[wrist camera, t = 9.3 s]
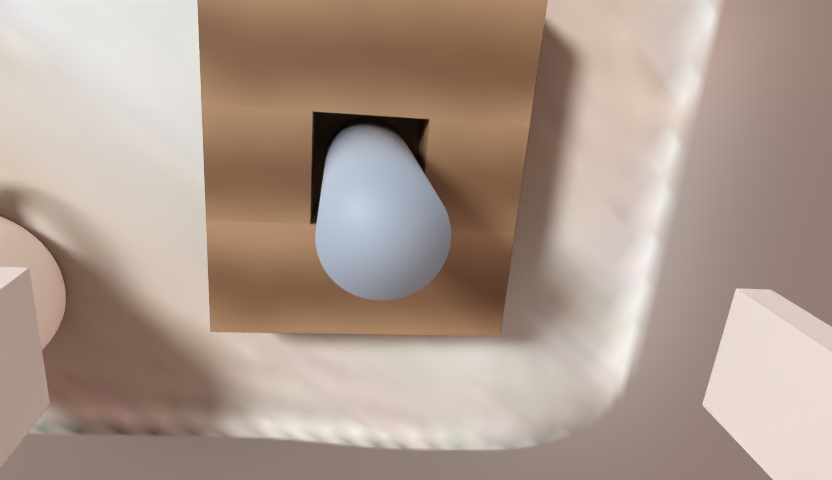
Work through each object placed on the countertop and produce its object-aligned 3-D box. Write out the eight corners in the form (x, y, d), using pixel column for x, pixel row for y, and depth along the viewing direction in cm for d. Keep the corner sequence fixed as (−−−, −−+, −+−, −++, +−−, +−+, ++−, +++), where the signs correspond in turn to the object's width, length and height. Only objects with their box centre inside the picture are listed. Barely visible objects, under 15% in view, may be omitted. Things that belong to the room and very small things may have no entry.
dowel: (327, 115, 27) (316, 168, 16) (411, 120, 28) (457, 174, 17) (325, 197, 29) (314, 299, 17) (405, 200, 29) (445, 301, 18)
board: (217, -32, 26) (196, -43, 22) (521, -3, 28) (548, -9, 24) (226, 295, 31) (210, 331, 27) (482, 301, 33) (499, 336, 29)
